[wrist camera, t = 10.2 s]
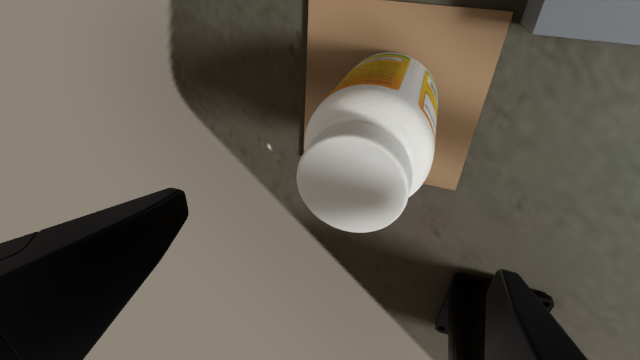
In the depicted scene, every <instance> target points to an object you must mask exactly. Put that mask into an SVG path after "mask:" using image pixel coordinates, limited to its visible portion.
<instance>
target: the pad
mask: <svg viewBox="0 0 640 360" xmlns="http://www.w3.org/2000/svg"><path fill="white" fill-rule="evenodd" d="M513 13H514V12H513V11H504V10H493V9H482V8H471V7H460V6H449V5H438V4H427V3H416V2H405V1H394V0H309V5H308V35H307V65H306V95H305V125H304V142H305V133H306V129H307V126H308V123H309V121H310V119H311V117H312V115H313V113H314V112H315V111H316V109H317V107H318V106H319V105H320V104H321V103H322V101H323V100H324V99H325V98H326V97H327V96H328V95H329V94H330V93H331V92H332V91H333V90H334V89H335V88H336V86H337V85H338V84H339V83H340V82H341V81H342V80H343V79H344V78H345V77H346V76H347V74H348V73H349V72H350V71H351V70H352V69H353V68H354V67H355V66H356V65H357V64H359V63H360V62H361V61H363V60H364V59H366V58H368V57H370V56H373V55H376V54H379V53H388V52H391V53H400V54H404V55H407V56H410V57H412V58H414V59H415V60H417V61H419V62H420V63H421V64H422V65H423V66H424V67H425V68H426V69H427V70H428V71H429V73H430V74H431V76H432V78H433V80H434V82H435V85H436V89H437V95H438V109H437V123H436V136H435V151H434V157H433V162H432V166H431V169H430V171H429V174H428V176H427V178H426V180H425V181H424V183H423V184H427V185H432V186H437V187H441V188H446V189H451V190H456V187H457V184H458V181H459V178H460V175H461V172H462V168H463V165H464V162H465V159H466V156H467V153H468V150H469V147H470V144H471V141H472V138H473V135H474V132H475V129H476V126H477V123H478V120H479V117H480V114H481V110H482V107H483V104H484V101H485V98H486V95H487V92H488V89H489V86H490V83H491V80H492V77H493V74H494V71H495V68H496V65H497V62H498V59H499V55H500V52H501V49H502V46H503V43H504V40H505V37H506V34H507V31H508V28H509V25H510V22H511V19H512V16H513ZM304 152H305V148H304Z"/></svg>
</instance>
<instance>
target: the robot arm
mask: <svg viewBox="0 0 640 360" xmlns="http://www.w3.org/2000/svg"><path fill="white" fill-rule="evenodd" d="M187 217H188V206H187V201H186V196H185V193H184V191H182V190H179V189H175V188H167V189H164V190H161V191H158V192H155V193H152V194H149V195H146V196H143V197H140V198H137V199H134V200H131V201H128V202H125V203H122V204H119V205H116V206H113V207H110V208H107V209H104V210H101V211H98V212H95V213H92V214H89V215H86V216H83V217H80V218H77V219H74V220H71V221H68V222H65V223H62V224H58V225H56V226H52V227H49V228H46V229H43V230H41V231H39V232H34V233H32V234H28V235H25V236H23V237H19V238H16V239H13V240H10V241H6V242H3V243H0V360H83V359H84V358H85V356H86V355H87V354H88V353H89V351H90V350H91V349H92V347H93V346H94V345H95V344H96V342H97V341H98V339H100V337H101V336H102V335H103V333H104V332H105V331H106V330H107V328H108V327H109V326H110V324H111V323H112V322H113V321H114V319H115V318H116V317H117V315H118V314H119V313H120V311H121V310H122V309H123V308H124V307H125V305H126V304H127V302H128V301H129V300H130V299H131V298H132V296H133V295H134V293H135V292H136V291H137V290H138V288H139V287H140V286H141V285H142V283H143V282H144V281H145V280H146V278H147V277H148V276H149V274H150V273H151V272H152V271H153V269H154V268H155V267H156V266H157V264H158V263H159V261H160V260H161V259H162V257H163V256H164V254H165V253H166V251H167V250H168V248H169V246H170V245H171V243H172V242H173V240H174V238H175V237H176V235H177V234H178V232H179V230H180V229H181V227H182V226H183V224H184V223H185V221H186V219H187ZM459 279H461V280H462V281H461V280H459ZM553 307H554V302H553V299H552V297H550V296H549V295H545V294H542V293H538V292H534V291H532V290H531V289H530V288H529V287H528V285H527V284H526V283H525V282H524V280H523V279H522V278H521V277H520V276H519V275H518V274H517V273H515V272H512V271H508V270H504V269H500V270H498V271H497V272H496V274H495V276H494V278H493V280H492V281H491V280H487V279H483V278H480V277H476V276H472V275H468V274H464V273H456V274H455V275H454V276H453V279H452V281H451V284H450V286H449V289H448V292H447V294H446V297H445V299H444V302H443V304H442V307H441V310H440V312H439V315H438V317H437V320H436V323H435V329H436V330H437V331H439V332H441V333H445V334H448V360H588V359H587V358H586V357H585V355H584V354H583V353H582V352H581V350H580V349H579V348H578V347H577V345H576V344H575V343H574V342H573V341H572V339H571V338H570V337H569V336H568V334H567V333H566V332H565V331H564V330H563V328H562V327H561V326H560V325H559V323H558V322H557V321H556V320H555V318H554V317H553V316H552V315H551V314H550V311H551V310H552V308H553Z"/></svg>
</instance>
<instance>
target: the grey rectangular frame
mask: <svg viewBox="0 0 640 360" xmlns="http://www.w3.org/2000/svg"><path fill="white" fill-rule="evenodd" d="M520 24H521V25H522V26H523V27H524V28H526V29H527V30H528V31H529V32H530V33H532V34H536V35H546V36H556V37H565V38H575V39H585V40H594V41H604V42H614V43H623V44H633V45H640V0H528V2H527V5H526V8H525V11H524V13H523V16H522V19H521V22H520Z"/></svg>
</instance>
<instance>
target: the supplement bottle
mask: <svg viewBox="0 0 640 360" xmlns="http://www.w3.org/2000/svg"><path fill="white" fill-rule="evenodd" d="M437 109H438V95H437V89H436V85H435V82H434V80H433V78H432V76H431V74H430V73H429V71H428V70H427V69H426V68H425V67H424V66H423V65H422V64H421V63H420V62H419V61H417V60H415V59H414V58H412V57H410V56H407V55H404V54H400V53H391V52H388V53H379V54H376V55H373V56H370V57H368V58H366V59H364V60H363V61H361V62H360V63H359V64H357V65H356V66H355V67H354V68H353V69H352V70H351V71H350V72H349V73H348V74H347V76H346V77H345V78H344V79H343V80H342V81H341V82H340V83H339V84H338V85H337V86H336V88H335V89H334V90H333V91H332V92H331V93H330V94H329V95H328V96H327V97H326V98H325V99H324V100H323V101H322V103H321V104H320V105H319V106H318V107H317V109H316V111H315V112H314V113H313V115H312V117H311V119H310V121H309V123H308V126H307V129H306V133H305V142H304V148H305V152H304V154H303V156H302V157H301V159H300V162H299V164H298V168H297V185H298V189H299V193H300V195H301V197H302V199H303V201H304V203H305V204H306V205H307V207H308V208H309V209H310V210H311V212H312V213H313V214H314V215H316V216H317V217H318V218H319V219H320V220H322V221H323V222H325V223H327V224H328V225H330V226H332V227H335V228H338V229H340V230H344V231H348V232H356V233H366V232H372V231H376V230H379V229H382V228H384V227H386V226H388V225H390V224H391V223H392V222H394V221H395V220H396V219H397V218H398V217H399V216H400V214H401V213H402V212H403V210H404V208H405V206H406V204H407V201H408V197H410V196H411V195H413V194H414V193H415V192H416V191H417V190H418V189H419V188H420V187H421V185H422V184H423V183H424V181H425V180H426V178H427V176H428V174H429V171H430V169H431V166H432V162H433V157H434V151H435V136H436V123H437Z"/></svg>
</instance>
